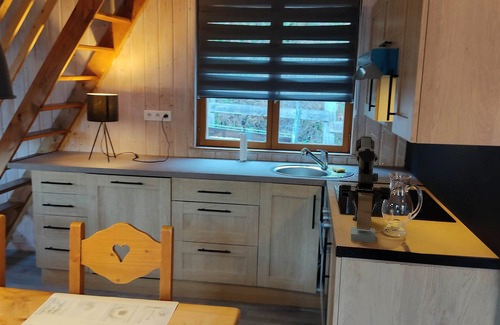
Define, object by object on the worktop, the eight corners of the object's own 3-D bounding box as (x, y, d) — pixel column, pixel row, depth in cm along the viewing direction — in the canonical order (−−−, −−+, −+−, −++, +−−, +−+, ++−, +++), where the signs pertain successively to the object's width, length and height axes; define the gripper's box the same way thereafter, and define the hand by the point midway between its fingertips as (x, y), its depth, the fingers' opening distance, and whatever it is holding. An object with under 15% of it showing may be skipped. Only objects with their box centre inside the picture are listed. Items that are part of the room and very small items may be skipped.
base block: (350, 233, 178) (351, 226, 178) (374, 235, 177) (374, 228, 176) (350, 241, 170) (351, 233, 169) (375, 243, 168) (375, 235, 167)
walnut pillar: (356, 224, 175) (358, 192, 173) (369, 225, 174) (371, 193, 172) (356, 228, 171) (358, 195, 168) (370, 230, 170) (372, 196, 167)
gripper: (342, 163, 174) (339, 198, 165) (392, 166, 170) (392, 202, 161) (341, 179, 183) (339, 213, 174) (389, 182, 179) (389, 216, 170)
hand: (364, 211), depth 170 cm, fingers closed on walnut pillar, 5 cm apart
